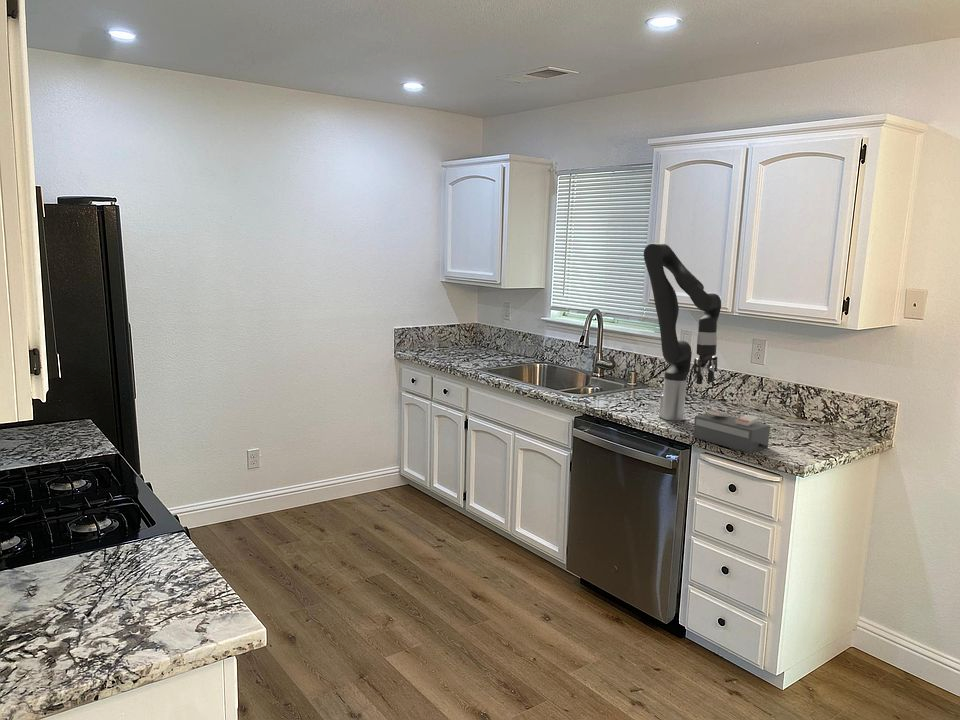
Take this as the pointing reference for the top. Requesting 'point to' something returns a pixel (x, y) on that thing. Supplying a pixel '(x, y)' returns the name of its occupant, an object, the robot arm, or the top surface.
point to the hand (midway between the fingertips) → (704, 383)
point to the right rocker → (746, 420)
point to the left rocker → (718, 413)
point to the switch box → (731, 432)
